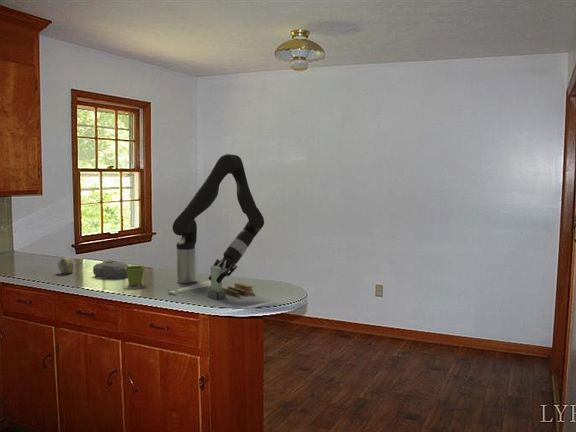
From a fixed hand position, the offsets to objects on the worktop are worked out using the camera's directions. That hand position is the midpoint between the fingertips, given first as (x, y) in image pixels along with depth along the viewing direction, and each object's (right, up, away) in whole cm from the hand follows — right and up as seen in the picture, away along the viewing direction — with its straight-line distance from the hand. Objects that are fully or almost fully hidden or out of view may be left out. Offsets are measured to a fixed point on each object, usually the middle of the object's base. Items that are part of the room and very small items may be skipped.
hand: (213, 280), depth 227 cm
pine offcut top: (+12, -5, +10) cm, 16 cm away
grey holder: (+1, -8, +2) cm, 8 cm away
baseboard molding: (-10, -7, +22) cm, 25 cm away
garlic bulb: (-91, -4, +61) cm, 110 cm away
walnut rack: (+9, -8, +9) cm, 15 cm away
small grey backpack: (-62, -4, +53) cm, 81 cm away
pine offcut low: (+11, -6, +11) cm, 17 cm away
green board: (+1, -6, +1) cm, 6 cm away
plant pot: (-44, -6, +32) cm, 54 cm away
